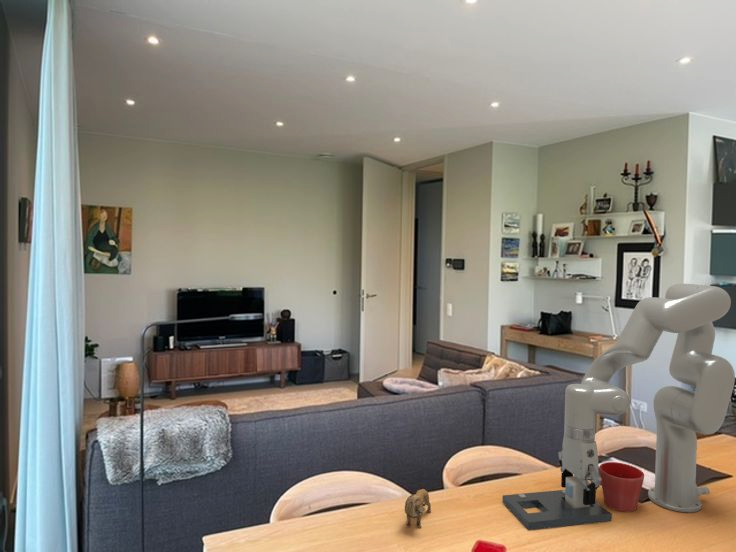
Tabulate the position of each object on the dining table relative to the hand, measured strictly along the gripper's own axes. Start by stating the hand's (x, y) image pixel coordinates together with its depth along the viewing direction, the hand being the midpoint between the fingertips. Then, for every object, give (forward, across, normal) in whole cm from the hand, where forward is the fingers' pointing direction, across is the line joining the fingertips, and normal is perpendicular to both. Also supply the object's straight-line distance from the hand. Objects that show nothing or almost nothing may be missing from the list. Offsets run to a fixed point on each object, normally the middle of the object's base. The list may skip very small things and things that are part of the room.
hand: (577, 495), depth 134 cm
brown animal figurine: (+4, +2, +43) cm, 44 cm away
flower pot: (+4, 0, -13) cm, 14 cm away
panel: (+4, 0, +6) cm, 8 cm away
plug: (+4, 0, 0) cm, 4 cm away
